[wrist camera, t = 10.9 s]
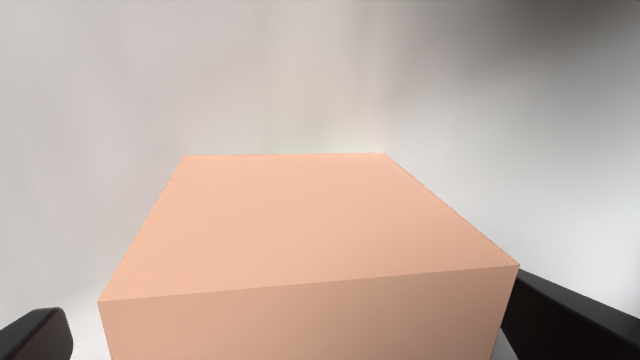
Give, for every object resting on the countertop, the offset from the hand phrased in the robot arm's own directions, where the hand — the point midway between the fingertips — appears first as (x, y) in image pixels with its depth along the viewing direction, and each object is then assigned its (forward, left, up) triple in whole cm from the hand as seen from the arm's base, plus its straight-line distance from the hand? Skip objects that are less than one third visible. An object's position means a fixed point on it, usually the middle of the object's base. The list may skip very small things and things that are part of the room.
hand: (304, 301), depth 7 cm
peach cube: (0, 0, -2) cm, 3 cm away
